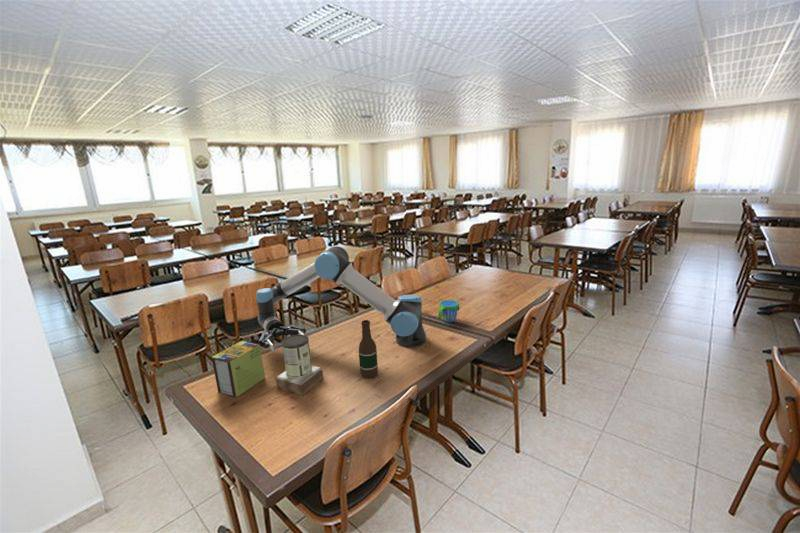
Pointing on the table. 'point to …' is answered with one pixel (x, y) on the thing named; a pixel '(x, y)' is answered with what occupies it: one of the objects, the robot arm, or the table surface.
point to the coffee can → (297, 356)
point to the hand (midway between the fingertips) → (289, 343)
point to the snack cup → (448, 310)
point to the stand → (299, 381)
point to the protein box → (238, 368)
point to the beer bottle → (367, 353)
